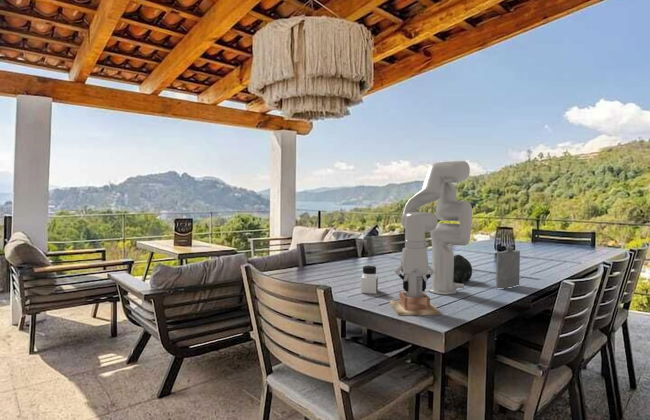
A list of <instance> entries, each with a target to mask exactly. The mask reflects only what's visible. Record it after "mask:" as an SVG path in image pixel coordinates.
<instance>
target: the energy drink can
mask: <svg viewBox="0 0 650 420" xmlns="http://www.w3.org/2000/svg"><path fill="white" fill-rule="evenodd" d="M422 280H423V276H422V273H421V272H420V271H419V270H418V269H414V270H413V271H412V272H411V273H410V274H409V276H408V278H407V282H408V291H407V297H422V292H423V291H422Z"/></svg>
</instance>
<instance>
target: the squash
mask: <svg viewBox="0 0 650 420" xmlns="http://www.w3.org/2000/svg"><path fill="white" fill-rule="evenodd" d="M472 275H473V266H472V264H471V262H470V261H469V260H468V259H467V258H465V257H464V256H463V255H461V254H456V255H455V254H454V274H453V282H455V283H459V284H463V283H466V282H469V281H470V279H471V278H472Z"/></svg>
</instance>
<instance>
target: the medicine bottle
mask: <svg viewBox="0 0 650 420" xmlns="http://www.w3.org/2000/svg"><path fill="white" fill-rule="evenodd" d="M378 276H379V275H377V266H375V265H372V264H371V265H369V264H368V265H364V266H363V267H362V276H361V277H360V293H361V294H371V295H372V294H374V295H375V294H376V295H377V293H378V286H379V283H378V281H379V277H378Z"/></svg>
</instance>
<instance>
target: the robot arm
mask: <svg viewBox="0 0 650 420" xmlns="http://www.w3.org/2000/svg"><path fill="white" fill-rule="evenodd" d="M470 172H471V169H470V164H469V163H468V161H466V160H458V161H457V160H456V161H455V160H454V161H440V162H435V163H433V164H431V165H429V167H428V168H427V170H426V173H425V176H424V180H423V182H422V187H421V189H420V190H419V191H418V192H417V193H416V194H414V195H413V196H412V197H411V198H409V200H408V201H407V202H406V203H405V205H404V208H403V212H402V215H401V218H400V219H401V220H400V221H401V222H400V223H401V227H402V228H403V229H404V241H405V242H404V247H402V250H401V257H400V258H401V259H400V265H399V266H398V267H397V268H396V269H395V270H394V273H395V274H396V275H397V276H398V277H399V278H400V279H402V289H403V290H404V292H407V291H408V282H407V278H408V276H409V274H410V273H411V272H412V271H413V270H414V269H418V270H419V271H420V272H421V273H422V276H423V280H422V292H424V293H425V292H426V289H427V281H428V280H429V279H430V278H431V286H429V287H428V291H429V293H433V294H437V295H446V296H447V295H455V294H457V292H458V290H457V289H464V288H465V284H464V283H460V282H454V281H453V274H454V256H455V254H454V251H453V249H452V248H451V247H450V246H451V245H453V246H468V244H469V243H470V241H471V235H472V225H473V224H472V223H473V220H472V219H473V207H472V205H471V203H470V201H468V200H457V189H456V187H455V185H454V184H453V183H460V182H463V181H465V180H467V179H468V178H469V176H470ZM433 202H436V205H435V206H436V207H435V213H433V212H428V211H427V212H425V211H417V210H418V209H420V208H422V207H423V206H426V205H429V204H431V203H433ZM439 220H440V221H444V222H459V223H444V222H443V223H441V222H440V223H439ZM426 232H430V234H429V235H430V239H431V249H432V250H431V251H432V254H431V257H432V259H431V263H432V265H431V266H430V265H429V258H428V257H429V256H428V251H427V248H426V247H427V246H429V242H428V241H426ZM401 272H402V273H403V274H402V273H401Z"/></svg>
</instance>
